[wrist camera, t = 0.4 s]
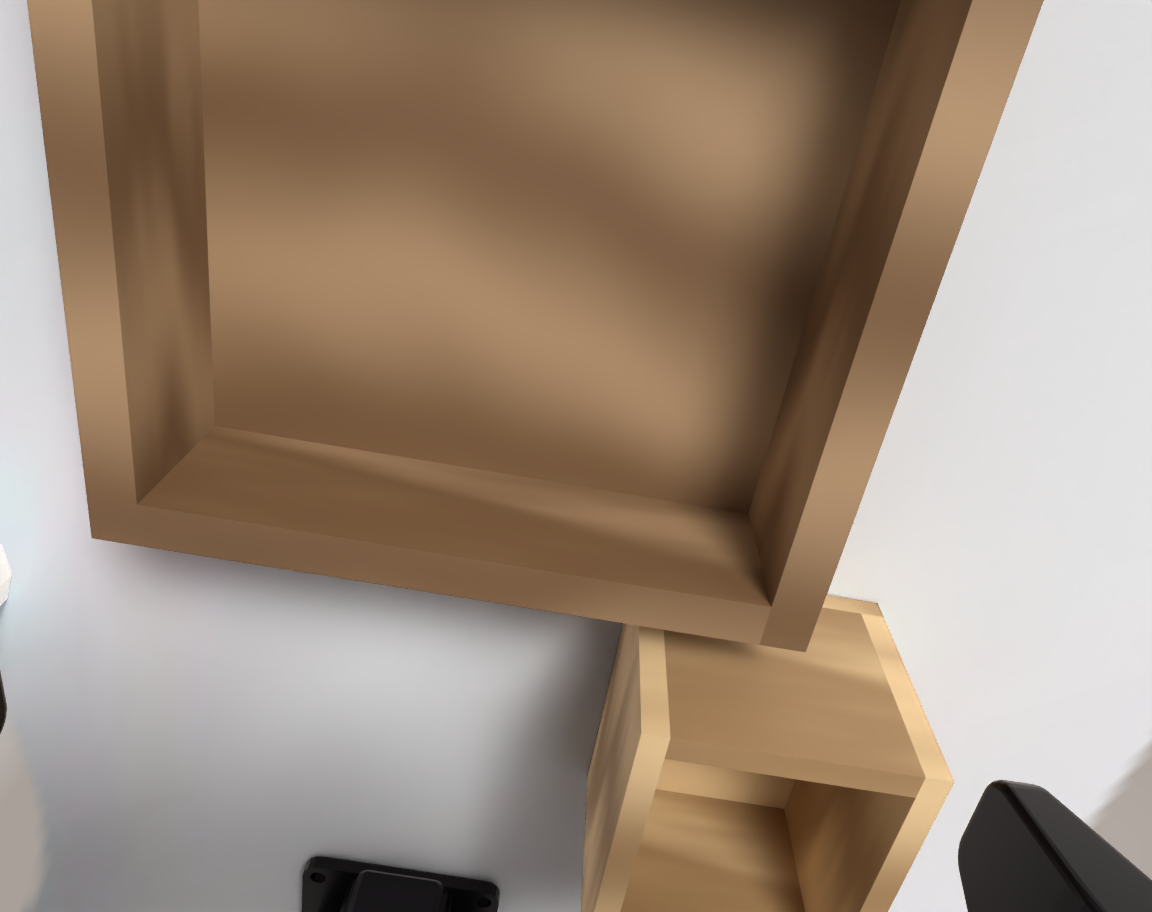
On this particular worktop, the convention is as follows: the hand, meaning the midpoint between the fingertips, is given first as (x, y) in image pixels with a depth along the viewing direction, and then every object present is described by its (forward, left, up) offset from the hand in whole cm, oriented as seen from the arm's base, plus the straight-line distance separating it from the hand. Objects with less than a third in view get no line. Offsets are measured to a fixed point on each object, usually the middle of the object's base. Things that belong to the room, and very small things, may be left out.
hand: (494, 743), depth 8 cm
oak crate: (-11, -6, -13) cm, 18 cm away
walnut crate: (+2, +1, -13) cm, 14 cm away
